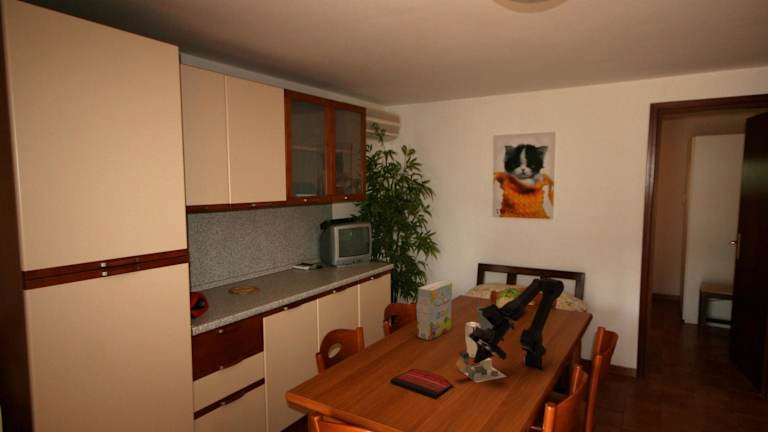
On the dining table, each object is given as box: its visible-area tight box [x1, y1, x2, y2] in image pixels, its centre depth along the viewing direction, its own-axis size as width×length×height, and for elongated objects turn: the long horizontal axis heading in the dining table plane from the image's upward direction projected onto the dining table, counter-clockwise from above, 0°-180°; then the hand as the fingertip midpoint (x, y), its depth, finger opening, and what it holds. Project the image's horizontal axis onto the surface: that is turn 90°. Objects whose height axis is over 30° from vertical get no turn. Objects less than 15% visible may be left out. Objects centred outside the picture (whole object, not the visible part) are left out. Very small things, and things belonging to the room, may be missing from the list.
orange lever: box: [455, 358, 477, 377], centre depth 171 cm, size 2×3×10 cm
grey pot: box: [477, 306, 493, 330], centre depth 228 cm, size 10×10×12 cm
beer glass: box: [464, 321, 480, 358], centre depth 195 cm, size 7×7×15 cm
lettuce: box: [495, 287, 523, 308], centre depth 255 cm, size 15×27×16 cm, turn 144°
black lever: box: [458, 350, 470, 366], centre depth 179 cm, size 2×3×7 cm
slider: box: [479, 357, 493, 370], centre depth 180 cm, size 4×2×4 cm, turn 111°
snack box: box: [416, 280, 453, 341], centre depth 225 cm, size 22×9×26 cm, turn 143°
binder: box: [390, 368, 454, 400], centre depth 170 cm, size 16×2×21 cm
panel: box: [457, 364, 507, 383], centre depth 177 cm, size 14×14×4 cm
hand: (474, 363), depth 172 cm, fingers closed
